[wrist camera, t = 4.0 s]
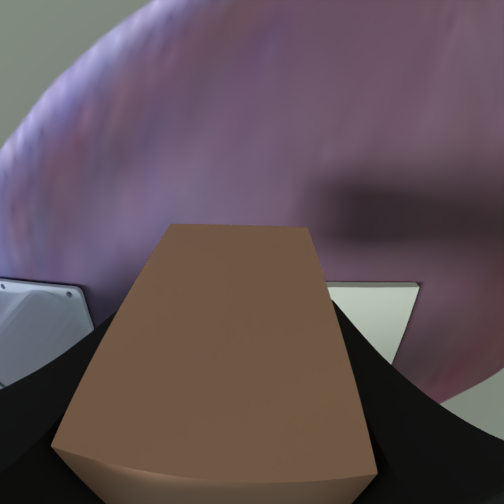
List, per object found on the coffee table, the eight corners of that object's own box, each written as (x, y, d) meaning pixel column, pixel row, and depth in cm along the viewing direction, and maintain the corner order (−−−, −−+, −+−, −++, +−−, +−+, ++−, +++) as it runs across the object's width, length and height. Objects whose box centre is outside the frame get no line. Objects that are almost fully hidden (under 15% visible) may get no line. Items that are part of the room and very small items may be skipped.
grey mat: (207, 400, 25) (206, 406, 24) (194, 278, 19) (193, 283, 19) (372, 398, 25) (373, 404, 24) (415, 282, 19) (419, 287, 19)
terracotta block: (182, 329, 12) (132, 525, 5) (170, 223, 10) (50, 445, 3) (295, 333, 12) (315, 538, 5) (307, 227, 10) (377, 473, 3)
